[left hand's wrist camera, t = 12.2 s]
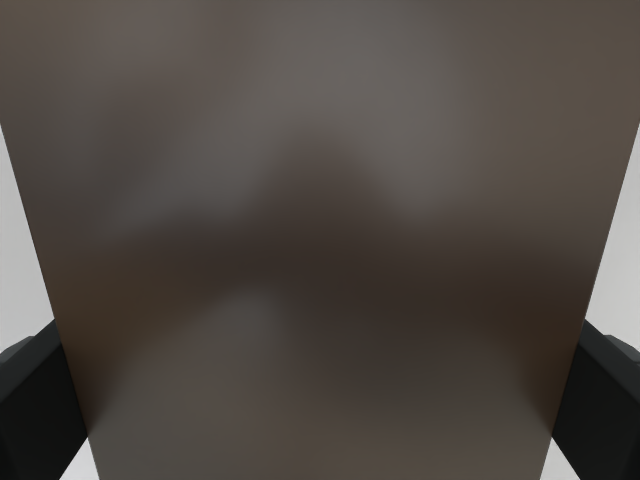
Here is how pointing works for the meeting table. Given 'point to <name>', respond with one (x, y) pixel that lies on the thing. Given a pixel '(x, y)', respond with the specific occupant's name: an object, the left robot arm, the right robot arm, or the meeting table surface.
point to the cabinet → (319, 224)
